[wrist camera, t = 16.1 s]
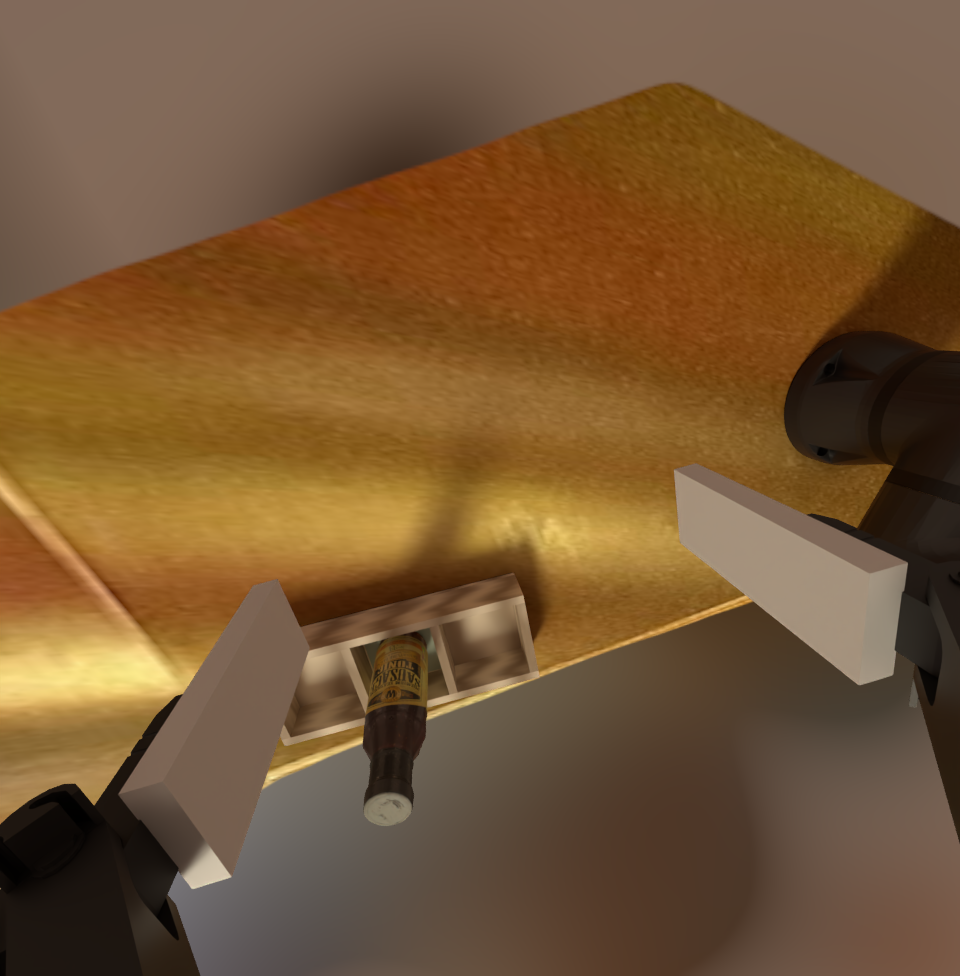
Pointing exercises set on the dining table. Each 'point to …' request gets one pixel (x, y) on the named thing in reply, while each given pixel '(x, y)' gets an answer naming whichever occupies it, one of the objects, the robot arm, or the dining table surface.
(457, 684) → the condiment rack
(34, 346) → the dining table surface
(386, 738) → the sauce bottle
